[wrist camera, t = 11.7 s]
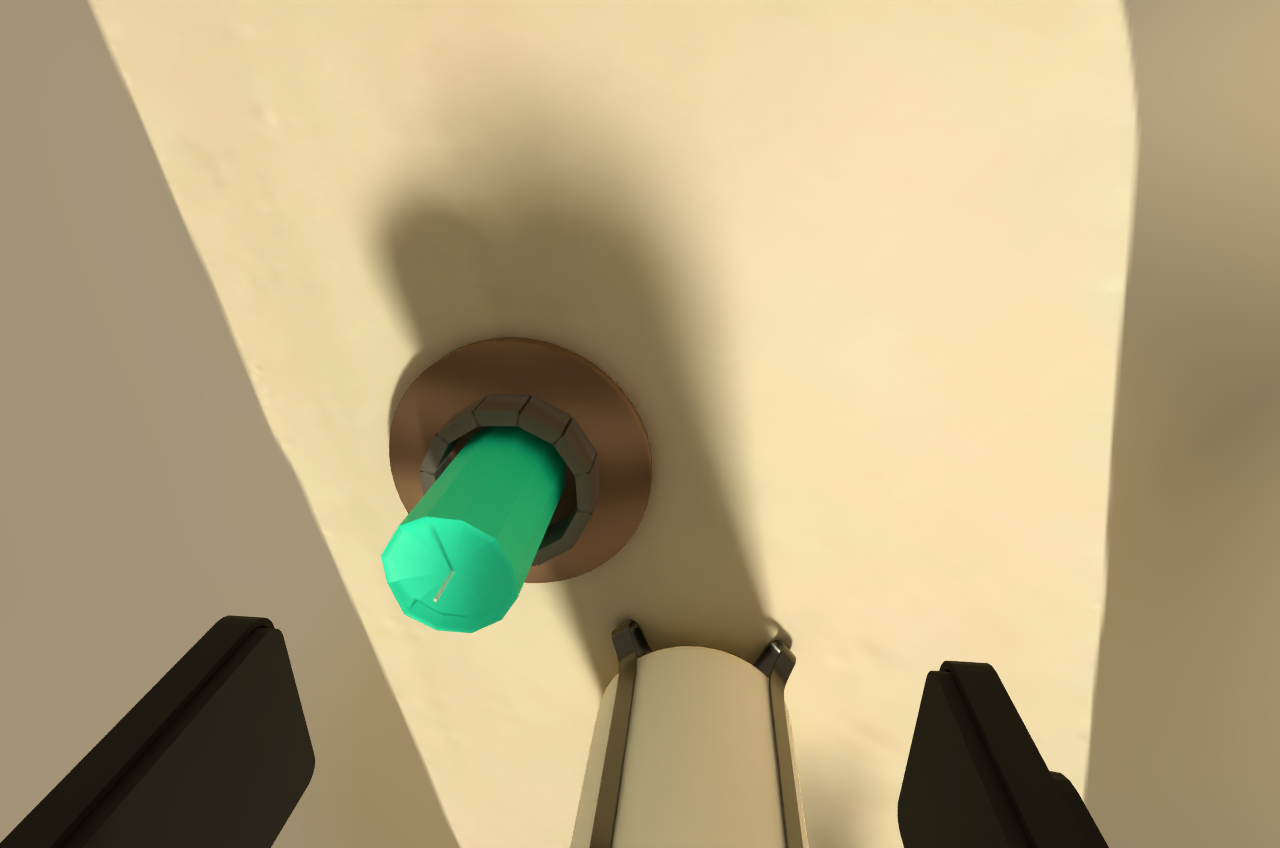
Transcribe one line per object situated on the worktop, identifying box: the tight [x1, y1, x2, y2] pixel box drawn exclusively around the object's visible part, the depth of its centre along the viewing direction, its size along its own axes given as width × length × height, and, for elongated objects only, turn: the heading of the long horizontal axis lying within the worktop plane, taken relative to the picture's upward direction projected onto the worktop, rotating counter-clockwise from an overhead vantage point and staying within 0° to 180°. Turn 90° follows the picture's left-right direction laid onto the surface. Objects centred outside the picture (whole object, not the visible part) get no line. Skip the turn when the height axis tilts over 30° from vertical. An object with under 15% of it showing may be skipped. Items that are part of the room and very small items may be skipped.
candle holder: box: [389, 338, 652, 583], centre depth 38 cm, size 15×15×4 cm
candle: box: [381, 426, 565, 633], centre depth 33 cm, size 6×6×12 cm
